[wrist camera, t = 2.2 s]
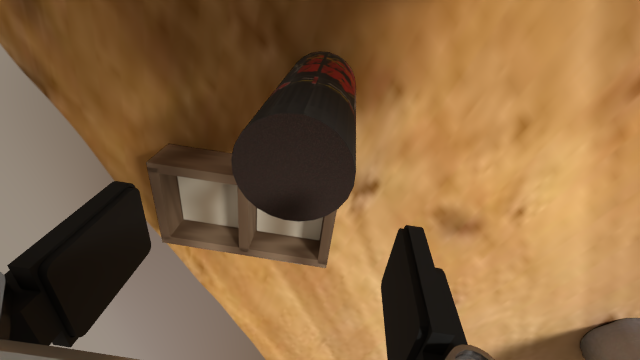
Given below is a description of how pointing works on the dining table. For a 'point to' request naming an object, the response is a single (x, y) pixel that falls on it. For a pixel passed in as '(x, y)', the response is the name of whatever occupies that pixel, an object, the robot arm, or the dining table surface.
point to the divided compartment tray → (226, 211)
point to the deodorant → (301, 142)
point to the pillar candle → (613, 341)
